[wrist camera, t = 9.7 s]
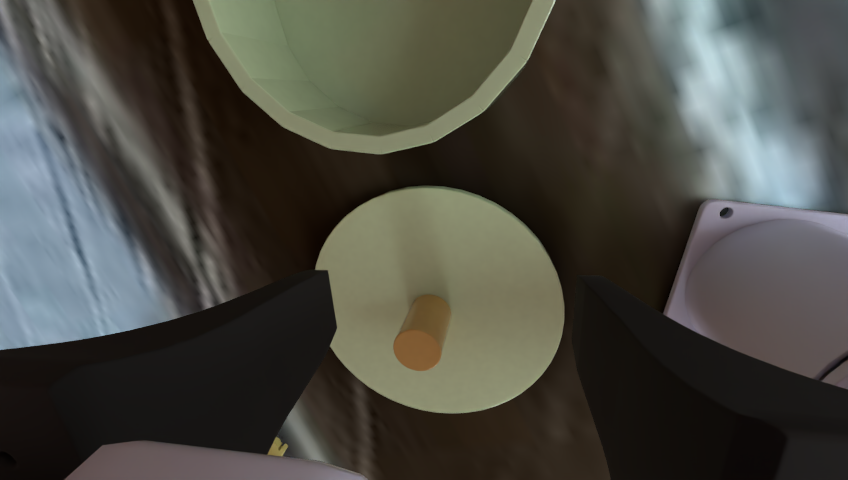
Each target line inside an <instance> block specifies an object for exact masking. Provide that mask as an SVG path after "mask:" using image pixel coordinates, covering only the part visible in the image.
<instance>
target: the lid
mask: <svg viewBox="0 0 848 480" xmlns="http://www.w3.org/2000/svg"><path fill="white" fill-rule="evenodd" d="M315 270H328V273H329V280H330V286H331V292H332V298H333V305H334V311H335V317H336V323H337V330H336V332H335V335H334V337H333V340H332V342H331V345H330V347H331V348H332V350H333V351H334V353H335V354H336V356H337V357H338V358H339V360H340V361H341V362H342V363H343V364H344V365H345V367H346V368H347V369H348V370H349V371H350V372H351V373H352V374H354V375H355V376H356V377H357V378H358V379H359V380H360V381H362V382H363V383H364V384H366V385H367V386H368V387H370V388H371V389H373V390H374V391H376V392H378V393H379V394H381V395H383V396H385V397H387V398H389V399H391V400H393V401H395V402H398V403H401V404H403V405H406V406H409V407H412V408H416V409H420V410H424V411H431V412H437V413H467V412H474V411H480V410H484V409H487V408H491V407H495V406H497V405H499V404H502V403H504V402H507V401H509V400H511V399H512V398H514V397H516V396H517V395H519V394H521V393H522V392H523V391H525V390H526V389H527V388H529V387H530V386H531V385H532V384H533V383H534V382H535V381H536V380H537V379H538V378H539V377H540V376H541V375H542V374H543V373H544V371H545V370H546V368H547V367H548V366H549V364H550V363H551V361H552V359H553V357H554V355H555V353H556V351H557V349H558V346H559V343H560V340H561V337H562V333H563V326H564V298H563V292H562V287H561V283H560V280H559V277H558V274H557V271H556V268H555V266H554V264H553V262H552V260H551V258H550V256H549V254H548V252H547V251H546V249H545V248H544V246H543V245H542V243H541V242H540V240H539V239H538V238H537V237H536V236H535V235H534V233H533V232H532V231H531V230H530V229H529V228H528V227H527V226H526V225H525V224H524V223H523V222H522V221H520V220H519V219H518V218H517V217H516V216H514V215H513V214H512V213H510V212H509V211H507V210H506V209H504V208H503V207H501V206H500V205H498V204H496V203H494V202H492V201H490V200H488V199H486V198H484V197H482V196H479V195H476V194H473V193H470V192H467V191H464V190H460V189H455V188H449V187H444V186H413V187H405V188H401V189H396V190H391V191H389V192H386V193H383V194H380V195H378V196H375V197H373V198H372V199H370V200H368V201H366V202H364V203H362V204H361V205H360V206H358V207H357V208H356V209H354V210H353V211H351V212H350V213H349V214H347V215H346V216H345V217H344V218H343V219H342V220H341V221H340V222H339V223H338V224H337V225H336V226H335V228H334V229H333V231H332V232H331V233H330V235H329V236H328V237H327V239H326V241H325V243H324V245H323V247H322V249H321V251H320V254H319V257H318V260H317V263H316V268H315Z"/></svg>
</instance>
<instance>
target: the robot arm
mask: <svg viewBox="0 0 848 480" xmlns="http://www.w3.org/2000/svg"><path fill="white" fill-rule="evenodd" d="M727 207H728V208H729V210H728V213H727V214H726V215H724V216H720V211H721V210H722V209H723V208H727ZM336 330H337V323H336V317H335V311H334V305H333V298H332V292H331V286H330V280H329V273H328V270H307V271H303V272H300V273H297V274H294V275H291V276H289V277H286V278H284V279H281V280H279V281H276V282H274V283H272V284H269V285H267V286H264V287H262V288H260V289H257V290H255V291H253V292H250V293H248V294H245V295H243V296H240V297H237V298H235V299H232V300H230V301H227V302H225V303H222V304H220V305H217V306H214V307H211V308H209V309H206V310H203V311H200V312H197V313H193V314H190V315H187V316H184V317H180V318H177V319H174V320H170V321H166V322H162V323H158V324H154V325H150V326H146V327H142V328H138V329H134V330H130V331H125V332H120V333H115V334H110V335H105V336H100V337H94V338H88V339H82V340H76V341H70V342H63V343H56V344H48V345H40V346H31V347H23V348H15V349H5V350H0V480H368V479H367V478H366V477H364V476H363V475H362V474H359V473H356V472H353V471H350V470H347V469H344V468H340V467H337V466H334V465H331V464H328V463H325V462H321V461H316V460H307V459H299V458H290V457H282V456H273V455H267V454H268V452H269V450H270V448H271V446H272V444H273V442H274V440H275V438H276V436H277V434H278V432H279V430H280V428H281V427H282V425H283V423H284V421H285V420H286V418H287V416H288V414H289V413H290V411H291V410H292V408H293V407H294V405H295V403H296V402H297V400H298V399H299V397H300V396H301V394H302V392H303V391H304V389H305V388H306V386H307V385H308V383H309V381H310V380H311V378H312V377H313V375H314V373H315V372H316V370H317V369H318V367H319V365H320V364H321V362H322V360H323V359H324V357H325V355H326V353H327V351H328V349H329V347H330V345H331V342H332V340H333V337H334V335H335V332H336ZM572 344H573V349H574V355H575V361H576V366H577V371H578V374H579V377H580V380H581V383H582V387H583V390H584V393H585V396H586V399H587V402H588V405H589V408H590V411H591V414H592V416H593V419H594V422H595V425H596V428H597V431H598V434H599V437H600V440H601V443H602V446H603V450H604V453H605V457H606V460H607V464H608V468H609V473H610V477H611V480H848V214H842V213H833V212H824V211H815V210H806V209H797V208H789V207H780V206H771V205H762V204H753V203H744V202H735V201H726V200H717V199H709V200H707V201H705V202H703V203H702V204H701V206H700V207H699V210H698V213H697V216H696V219H695V221H694V224H693V227H692V230H691V233H690V236H689V239H688V242H687V245H686V248H685V251H684V254H683V257H682V260H681V263H680V265H679V268H678V271H677V274H676V277H675V280H674V283H673V286H672V289H671V292H670V295H669V298H668V301H667V304H666V307H665V309H664V312H663V314H662V313H660V312H659V311H657V310H655V309H654V308H652V307H650V306H649V305H647V304H646V303H644V302H642V301H641V300H639V299H638V298H636V297H635V296H633V295H632V294H630V293H628V292H627V291H625V290H624V289H622V288H621V287H619V286H618V285H616V284H615V283H613V282H611V281H610V280H608V279H606V278H605V277H603V276H583V275H577V282H576V295H575V307H574V319H573V332H572Z"/></svg>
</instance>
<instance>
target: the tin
mask: <svg viewBox="0 0 848 480" xmlns="http://www.w3.org/2000/svg"><path fill="white" fill-rule="evenodd" d="M555 1H556V0H193V3H194V5H195V8H196V11H197V13H198V16H199V19H200V22H201V24H202V27H203V30H204V32H205V35H206V38H207V40H209V43H210V45H211V46H212V48H213V49H214V51H215V52H216V54H217V55H218V57H219V58H220V60H221V61H222V63H223V64H224V66H225V67H226V69H227V70H228V72H229V73H230V75H231V76H232V78H233V79H234V81H235V82H236V84H237V85H238V87H239V88H240V89H241V90H242V92H243V93H244V94H245V95H247V96H248V97H249V98H250V99H251V100H252V101H253V102H255V103H256V104H257V105H258V106H259V107H260V108H261V109H263V110H264V111H265V112H266V113H267V114H268V115H269V116H271V117H272V118H273V119H274V120H275V121H276V122H277V123H278V124H280V125H281V126H282V127H284V128H285V129H288V130H290V131H292V132H294V133H296V134H299V135H301V136H303V137H305V138H307V139H309V140H312V141H314V142H316V143H318V144H320V145H323V146H325V147H327V148H329V149H330V148H331V149H334V150H343V151H352V152H362V153H371V154H386V153H391V152H395V151H400V150H404V149H408V148H413V147H417V146H421V145H426V144H430V143H433V142H436V141H437V140H439V139H440V138H442V137H444V136H445V135H447V134H449V133H450V132H452V131H453V130H455V129H457V128H458V127H460V126H462V125H463V124H465V123H466V122H468V121H470V120H471V119H473V118H475V117H476V116H478V115H479V114H481V113H483V112H484V111H485V110H487V109H488V108H489V107H490V106H492V105H493V103H494V102H495V101H496V100H497V99H498V98H499V96H500V95H501V94H502V93H503V92H504V91H505V90H506V88H507V87H508V86H509V85H510V84H511V83H512V82H513V80H514V79H515V78H516V77H517V76H518V75H519V74H520V72H521V71H522V70H523V68H524V67H525V65H526V63H527V61H528V59H529V57H530V55H531V53H532V51H533V48H534V46H535V44H536V42H537V40H538V38H539V36H540V33H541V31H542V29H543V27H544V25H545V23H546V20H547V18H548V16H549V14H550V12H551V10H552V8H553V5H554V3H555Z"/></svg>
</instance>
